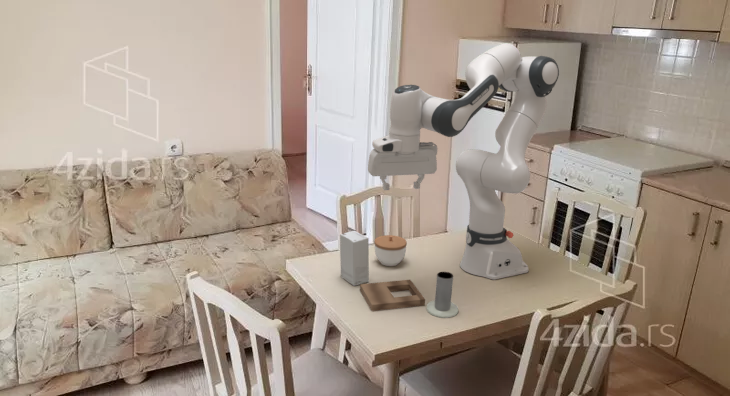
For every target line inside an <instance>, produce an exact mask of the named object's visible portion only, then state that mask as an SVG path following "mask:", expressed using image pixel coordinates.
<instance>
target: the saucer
mask: <svg viewBox="0 0 730 396" xmlns="http://www.w3.org/2000/svg"><path fill="white" fill-rule="evenodd" d="M426 311H427V313H428V314H430V315H431V316H433V317H436V318H440V319H450V318H453V317H455V316H457V315H458V314H459V307H458V305H457V304H455V303H454V302H453V301H451V307H450V310H448V311H439V310H437V309H436V308H435V299H434V300H431V301H428V303H427V304H426Z"/></svg>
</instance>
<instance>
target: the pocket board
mask: <svg viewBox="0 0 730 396" xmlns="http://www.w3.org/2000/svg"><path fill="white" fill-rule="evenodd" d="M359 291H360V293H361V294H362V296H363V298H364V300H365V302H366V303H367V306H368V307H369V309H370V311H371V312H374V311H375V312H376V311H377V312H378V311H385V310H396V309H403V308H404V309H405V308H413V307H423V306H425V305H426V299H425V297H424V296H423V294H422V293H421V291H419V289H418V288H417V286H416V285H415V284H414V283H413V281H412V280H411V279H401V280H400V279H399V280H392V281H380V282H371V283H370V282H367V283H363V284H359ZM404 291H405V292H407V291H408V292H409V293H410V295H405V296H404V295H403V296H395V297H394V295H393V293H394V292H404Z"/></svg>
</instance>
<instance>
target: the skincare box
mask: <svg viewBox="0 0 730 396" xmlns="http://www.w3.org/2000/svg"><path fill="white" fill-rule="evenodd" d="M369 239H370V238H369V237H367V236H365V235H364V234H361V232H360V233H359V232H358V231H356V230H352V231H348V232H343V233H340V234H339V245H340V246H339V248H340V249H339V250H340V254H339V257H340V278H342V279H343V280H345V281H346V282H348V283H349V284H351V285H352V286H354V287H355V286H357V285H358V286H360V284H368V283H370V282H369V281H370V277H369V276H370V274H369V273H370V272H369V271H370V268H369V265H370V263H369V260H370V259H369V258H370V257H369V256H370V255H369V250H370V249H369Z"/></svg>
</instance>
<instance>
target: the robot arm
mask: <svg viewBox="0 0 730 396" xmlns="http://www.w3.org/2000/svg"><path fill="white" fill-rule="evenodd" d="M556 61H557V60H555V59H553V58H552V57H550V56H545V55H538V56H534V55H532V56H531V55H530V56H528V55H527V56H522V55H521V53H520V50H519V49H518V47H516V45H514V44H512V43H506V42H505V43H501V44H497V45H496V46H492V47H491V48H489V49H487V50H486V51H484V52H482V53H481V54H479V55H478V56H476V57H475V58H473V59H472V60H471V61H470V62H468V65H467V66H466V68H465V74H464V75H465V82H466V85H467V86H468V88H469V91H467V92H466V93H465V94H464V95H463V96H462V97H461V98H457V99H448V98H442V97H439V96H434V95H432V94H429V93H427V92H426V91H424V90H423V89H421V87H420V86H419V85H416V84H404V85H400V86H398V87H396V88H395V89H394V90H393V93H392V97H391V101H390V111H389V113H390V114H389V120H390V127H389V130H388V135H386V136H381V137H379V138H376V139H374V140H373V141H372V147H373V149H372V150H371V151H370V153H369V156H368V163H367V171H368V174H370V175H371V176H372V177H379V179H380V180H381V182H382V183H381V184H382V189H383V191H390V189H391V188H390V187H391V186H390V185H391V184H390V183H388V182H386V180H387V177H390V176H393V177H394V176H409V175H410V176H411V175H415V176H418V177H417V179H416V180H415V181H413V185H412V186H413V189H415V190H417V189H418V190H419V189H421V184H422V183H423V180H424V179H425V176H426V175H432V174H435V173H436V172H437V169H438V167H437V166H438V163H437V155H438V149H439V148H438V145H437V143H434V142H432V141H428V142H425V141H421V140H420V139H421V129H425V130H428V131H432V132H434V133H437V134H439V135H441V136H445V137H447V138H453V137H456V136H458V135H460V133H461V132H463V131H464V129H465V128H466V127H467V125H468V124H469V122H470V121H471V120H472V118H473V117H474V116H476V114H478V112H479V111H481V109H483V108H484V107H485V106H486V105H487V104H488V103H489V102H490V101H491V100H492V99H493V98H494V97H495V95H496V94H497V93H498V90H499V89H500V90H502V91H504V92H509V93H512V92H513V93H514V92H515V97H514V100H513V102H512V104H511V105H510V106H509V108H508V109H507V111H506V112H505V114H504V116H503V117H502V119H501V121H500V123H499V124H498V125H497V127H496V129H495V133H494V134H495V135H494V136H495V137H494V138H495V140H496V142H497V144H498V145H499V146H500V148H499V149H498V151H497V152H496V153H495V152H490V151H486V150H483V149H474V148H473V149H472V148H471V149H469V148H468V149H464V150H463V151H462V152H460V154H459V155H458V157H457V158H456V162H455V170H456V171H455V172H456V173H457V175H458V177H460V179H461V180H462V182H463V183H464V186H465V189H466V192H467V196H468V200H469V215H468V216H469V219H468V225H467V228H466V235H465V249H464V252H463V255H462V258H461V261H460V263H459V267H460V268H461V269H462V270H463V271H465V272H467V273H468V274H471V275H474V276H479V277H484V278H487V279H490V280H498V279H503V278H508V277H512V276H517V275H521V274H526V273H528V272H529V265H528V264H527V263H526V262H525V261H524V260H523V256H522V252H521V250H520V248H518V247H517V246H516V245H515V244H514V243H513V242H512V241H510V240H509V239H512V238H513V237H514V235H515V234H514V232H512V231H510V230H507V229H506V228H505V227H504V222H505V213H506V207H505V204H504V203H503V201H502V200H501V199H500V197H499V196H498V194H497V192H496V191H498V192H501V193H503V194H520V193H522V192H524V191H525V190H526V188H527V186H528V185H529V183H530V180H531V172H530V167H529V165H528V164H527V161H526V152H527V149H528V146H529V145H530V142H531V140H532V138H533V136H534V135H535V134H536V132H537V130H538V128H539V126H540V124H541V122H542V120H543V118H544V115H545V113H546V110H547V107H548V100H547V98H546V97H547V96H549V94H551V93H552V91H553V88H555V86H556V84H557V81H558V79H559V75H560V70H559V65H558V63H557V62H556ZM420 141H421V142H420Z"/></svg>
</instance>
